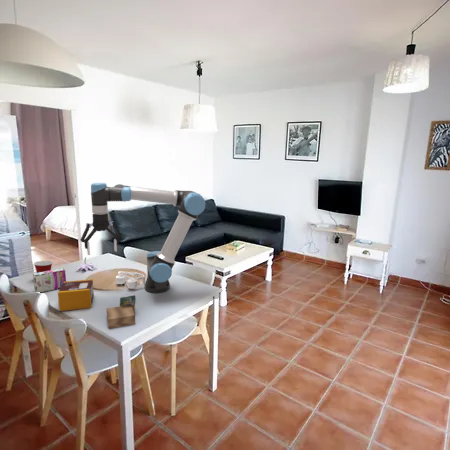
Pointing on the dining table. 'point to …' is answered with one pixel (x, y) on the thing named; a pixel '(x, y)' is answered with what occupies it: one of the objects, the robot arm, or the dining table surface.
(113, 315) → the walnut block
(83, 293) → the supplement box
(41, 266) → the plastic cup
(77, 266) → the water lily
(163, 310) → the dining table surface
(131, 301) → the crayon box
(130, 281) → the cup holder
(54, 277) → the candy bar box
